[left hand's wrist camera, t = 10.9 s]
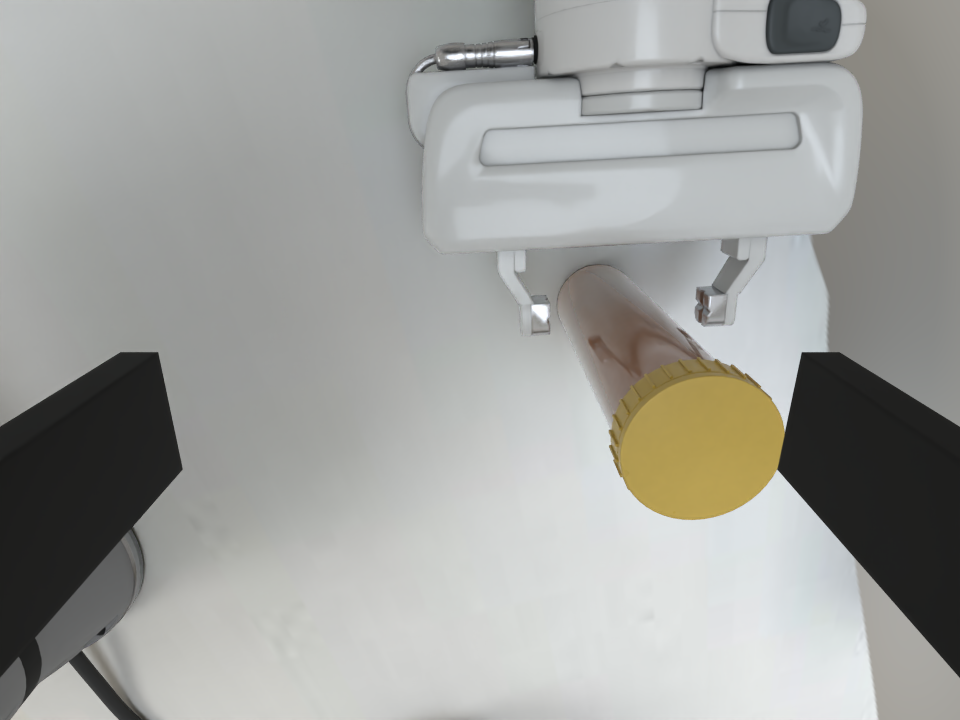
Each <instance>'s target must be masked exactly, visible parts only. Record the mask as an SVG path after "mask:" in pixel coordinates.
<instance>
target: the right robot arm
mask: <svg viewBox="0 0 960 720" xmlns="http://www.w3.org/2000/svg"><path fill="white" fill-rule="evenodd" d="M866 19H867V13H866V8H865V6H864V4H863V3H862V2H861V1H860V0H535V35H534V38H520V39H509V40H498V41H494V42H488V43H482V44H476V45H474V44H467V45H465V44H464V43H448V44H443V45H440V46H437V47H436V54H433V55H429V56H427V57H425V58H424V59H422V60H421V61H420V62H418V63H417V64H416V66H415V67H414V68H413V70H412V71H411V73H410V75H409V78H408V81H407V85H406V101H407V112H408V123H409V127H410V131H411V133H412V135H413V137H414V139H415V140H416V142H417V143H418V144H419V145H420V146H421V147H422V148H423V149H424V154H423V169H422V225H423V235H424V237H425V239H426V240H427V241H428V242H429V243H430V244H431V245H432V246H433V247H434V248H435V249H436V250H437V251H438V252H439V253H441V254H463V253H481V252H497V267H498V273H499V275H500V277H501V278H502V280H503V281H504V283H505V285H506V286H507V288H508V289H509V291H510V292H511V294H512V295H513V297H514V298H515V300H516V301H517V303H518V305H519V314H520V329H521V334H522V336H532V335H547V334H550V323H549V321H548V319H549V317H550V303H549V301H548V300H547V296H546V295H536V296H531V294H530V293H529V291H528V290H527V288H526V286H525V285H524V283H523V281H522V280H521V278H520V277H519V275H518V273H517V272H525V271H526V250H536V249H554V248H573V247H591V246H609V245H628V244H646V243H664V242H683V241H701V240H719V239H722V240H721V251H722V253H725V254H727V255H729V258H728V260H727V261H726V263H725V264H724V266H723V268H722V269H721V271H720V273H719V274H718V276H717V277H716V279H715V281H714V282H713V284H712V286H705V287H697V290H696V300H697V302H698V304H697V305H696V307H695V318H696V320H697V321H698V322H699V323H701V325H702V326H704V327H705V326H726V325H732V324H733V323H734V321H735V313H736V304H737V295H738V293H741V291H742V290H743V289H744V287H745V286H746V285H747V283H748V282H749V281H750V279H751V278H752V276H753V275H754V274H755V272H756V271H757V270H758V268H759V267H760V266H761V264H762V263H763V261H764V260H765V253H766V245H767V237H774V236H793V235H811V234H826V233H829V232H831V231H832V230H833V229H834V228H835V227H836V226H837V225H838V224H839V223H840V222H841V220H842V219H843V218H844V217H845V216H846V215H847V213H848V212H849V211H850V209H851V206H852V203H853V199H854V194H855V189H856V182H857V176H858V169H859V160H860V151H861V139H862V122H863V101H862V94H861V90H860V87H859V84H858V82H857V80H856V78H855V77H854V75H853V74H852V73H851V72H850V71H849V70H848V69H846V68H845V67H843V66H841V65H839V64H836V63H831V62H830V61H835V60H839V59H843V58H846V57H849V56H851V55H852V54H854V53H855V52H856V51H857V50H858V48H859V47H860V45H861V42H862V40H863V36H864V32H865V27H866V25H865V24H866ZM533 63H534V64H536V78H537V79H535V66H533ZM434 64H437V69H438V70H443V71H438V72H423V71H424V70H425V69H426V68H428V67H429V66H431V65H434ZM475 67H477V68H481V67H483V68H487V67H489V69H472V70H466V68H475ZM494 67H495V68H494Z"/></svg>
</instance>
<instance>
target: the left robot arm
mask: <svg viewBox="0 0 960 720" xmlns="http://www.w3.org/2000/svg"><path fill="white" fill-rule="evenodd" d="M182 470H183V468H182V464H181V459H180V454H179V449H178V445H177V440H176V435H175V430H174V426H173V421H172V416H171V411H170V407H169V402H168V397H167V392H166V388H165V383H164V378H163V373H162V369H161V364H160V359H159V354H158V352H120V353H119V354H117V355H115V356H114V357H112V358H111V359H109V360H107V361H106V362H104V363H103V364H101V365H99V366H98V367H96V368H94V369H93V370H91V371H90V372H88V373H86V374H85V375H83V376H82V377H80V378H78V379H77V380H75V381H73V382H72V383H70V384H69V385H67V386H65V387H64V388H62V389H61V390H59V391H57V392H56V393H54V394H52V395H51V396H49V397H48V398H46V399H44V400H43V401H41V402H40V403H38V404H36V405H35V406H33V407H31V408H30V409H28V410H27V411H25V412H23V413H22V414H20V415H19V416H17V417H15V418H14V419H12V420H10V421H9V422H7V423H6V424H4V425H2V426H1V427H0V720H10V719H11V718H12V717H13V715H14V714H15V713H16V712H17V710H18V709H19V707H20V706H21V705H22V704H23V702H24V701H25V700H26V699H27V697H28V696H29V695H30V694H31V692H32V691H33V690H34V688H35V687H36V686H37V685H38V684H39V683H40V682H41V681H43V680H44V679H45V678H47V677H48V676H50V675H51V674H52V673H54V672H55V671H56V670H58V669H59V668H60V667H62V666H63V665H65V664H66V663H67V662H68V661H69V663H70V664H71V665H72V666H73V667H74V669H75V670H76V671H77V672H78V673H79V675H80V676H81V677H82V678H83V679H84V680H85V682H86V683H87V684H88V685H89V686H90V687H91V689H92V690H93V691H94V692H95V693H96V695H97V696H98V697H99V698H100V699H101V701H102V702H103V703H104V704H105V705H106V706H107V707H108V709H109V710H110V711H111V712H112V713H113V714H114V715H115V716H116V717H117V718H118V719H119V720H142V719H141V718H139V717H138V716H137V715H136V714H135V713H134V712H133V711H132V710H131V709H130V708H129V707H128V706H127V705H126V704H125V703H124V702H123V701H122V700H121V698H120V697H119V696H118V695H117V694H116V692H115V691H114V690H113V689H112V687H111V686H110V685H109V684H108V682H107V681H106V680H105V679H104V678H103V676H102V675H101V674H100V673H99V672H98V670H97V669H96V668H95V667H94V665H93V664H92V663H91V662H90V660H89V659H88V658H87V657H86V656H85V654H84V653H83V652H82V651H81V650H82V649H84V648H86V647H88V646H90V645H91V644H93V643H95V642H96V641H98V640H99V639H101V638H102V637H103V636H104V635H106V634H107V633H108V632H109V631H110V630H111V629H112V628H113V627H114V626H115V625H116V624H117V623H118V622H119V621H120V620H121V619H122V617H123V616H124V615H125V613H126V612H127V611H128V609H129V608H130V607H131V605H132V604H133V602H134V601H135V599H136V598H137V596H138V594H139V591H140V588H141V586H142V581H143V572H144V567H143V558H142V553H141V550H140V547H139V544H138V542H137V539H136V537H135V535H134V533H133V532H132V530H131V528H132V527H133V526H134V524H135V523H136V522H137V521H138V520H139V519H140V518H141V516H142V515H143V514H144V513H145V512H146V511H147V510H148V508H149V507H150V506H151V505H152V504H153V503H154V502H155V500H156V499H157V498H158V497H159V496H160V495H161V494H162V492H163V491H164V490H165V489H166V488H167V487H168V486H169V484H170V483H171V482H172V481H173V480H174V479H175V478H176V476H177V475H178V474H179V473H180V472H181V471H182ZM777 470H778V471H779V472H780V473H781V474H782V475H783V476H784V478H785V479H786V480H787V481H788V482H789V483H790V484H791V486H792V487H793V488H794V489H795V490H796V491H797V492H798V494H799V495H800V496H801V497H802V498H803V499H804V500H805V502H806V503H807V504H808V505H809V506H810V507H811V508H812V510H813V511H814V512H815V513H816V514H817V515H818V516H819V518H820V519H821V520H822V521H823V522H824V523H825V524H826V526H827V527H828V528H829V529H830V530H831V531H832V532H833V534H834V535H835V536H836V537H837V538H838V539H839V540H840V542H841V543H842V544H843V545H844V546H845V547H846V548H847V550H848V551H849V552H850V553H851V554H852V555H853V556H854V558H855V559H856V560H857V561H858V562H859V563H860V564H861V565H862V567H863V568H864V569H865V570H866V571H867V572H868V573H869V575H870V576H871V577H872V578H873V579H874V580H875V581H876V583H877V584H878V585H879V586H880V587H881V588H882V589H883V591H884V592H885V593H886V594H887V595H888V596H889V597H890V599H891V600H892V601H893V602H894V603H895V604H896V605H897V607H898V608H899V609H900V610H901V611H902V612H903V613H904V615H905V616H906V617H907V618H908V619H909V620H910V621H911V623H912V624H913V625H914V626H915V627H916V628H917V629H918V631H919V632H920V633H921V634H922V635H923V636H924V637H925V639H926V640H927V641H928V642H929V643H930V644H931V645H932V647H933V648H934V649H935V650H936V651H937V652H938V653H939V654H940V656H941V657H942V658H943V659H944V660H945V661H946V663H947V664H948V665H949V666H950V667H951V668H952V669H953V671H954V672H955V673H956V674H957V675H958V676H959V677H960V427H959V426H958V425H956V424H954V423H953V422H951V421H950V420H948V419H946V418H945V417H943V416H941V415H940V414H938V413H937V412H935V411H933V410H932V409H930V408H929V407H927V406H925V405H924V404H922V403H920V402H919V401H917V400H916V399H914V398H912V397H911V396H909V395H908V394H906V393H904V392H903V391H901V390H899V389H898V388H896V387H895V386H893V385H891V384H890V383H888V382H886V381H885V380H883V379H882V378H880V377H878V376H877V375H875V374H874V373H872V372H870V371H869V370H867V369H866V368H864V367H862V366H861V365H859V364H857V363H856V362H854V361H853V360H851V359H849V358H848V357H846V356H845V355H843V354H841V353H840V352H802V354H801V359H800V364H799V369H798V373H797V378H796V383H795V388H794V392H793V397H792V402H791V407H790V411H789V416H788V421H787V426H786V430H785V435H784V440H783V445H782V449H781V454H780V459H779V464H778V468H777Z"/></svg>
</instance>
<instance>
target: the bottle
mask: <svg viewBox="0 0 960 720" xmlns="http://www.w3.org/2000/svg"><path fill="white" fill-rule="evenodd" d="M557 311H558V316H559V319H560V321H561V323H562V325H563V327H564V330H565V332H566V334H567V336H568V338H569V340H570V343H571V345H572V347H573V349H574V351H575V354H576V356H577V358H578V360H579V362H580V364H581V367H582V369H583V371H584V373H585V375H586V377H587V380H588V382H589V384H590V386H591V388H592V391H593V393H594V395H595V397H596V399H597V401H598V404H599V406H600V408H601V410H602V412H603V414H604V417H605V419H606V421H607V423H608V425H609V428H610V430H611V427H612V422H613V418H612V415H613V414H615V413H616V410H617V408H618V406H619V404H620V402H619V400H620V399H623V398H624V396H625V395H626V394H627V392H628V391H629V390H630V389H631V388H630V386H631V385H633V386H634V385H635V384H636V383H637V382H638V381H639V380H641V379H642V378H643V377H644V374H646V373H647V374H649V373H651V372H652V371H654V370H656V369H658V368H660V367H661V366H660V365H662V364H663V365H664V366H665V365H668V364H671V363H674V362H678V359H682V360H683V361H684V360H694V359H697V357H700V358H701V359H702V360H711V361H714V360H715V359H714V358H713V357H712V356H711V355H710V354H709V353H708V352H707V351H706V350H705V349H704V348H703V347H702V346H701V345H700V344H698V343H697V342H696V341H695V340H694V339H693V338H692V337H691V336H690V335H689V334H688V333H687V332H686V331H685V330H684V329H683V328H682V327H680V326H679V325H678V324H677V323H676V322H675V321H674V320H673V319H672V318H671V317H670V316H669V315H668V314H667V313H666V312H665V311H663V310H662V309H661V308H660V307H659V306H658V305H657V304H656V303H655V302H654V301H653V300H652V299H651V298H650V297H649V296H648V295H646V294H645V293H644V292H643V291H642V290H641V289H640V288H639V287H638V286H637V285H636V284H635V283H634V282H633V281H632V280H631V279H629V278H628V277H627V276H626V275H625V274H624V273H623V272H622V271H620V270H619V269H617V268H614V267H612V266H608V265H591V266H587V267H584V268H582V269H580V270H578V271H576V272H575V273H573V274H572V275H571V276H570V277H569V278H568V279H567V280H566V281H565V283H564V284H563V286H562V288H561V290H560V292H559V295H558V300H557Z"/></svg>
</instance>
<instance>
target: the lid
mask: <svg viewBox="0 0 960 720" xmlns="http://www.w3.org/2000/svg"><path fill="white" fill-rule="evenodd" d="M660 366H661V367H660V368H658V369H656V370H654V371H652V372H651V373H649V374H647V373H646V374H644V377H643V378H642V379H641V380H639V381H638V382H637V383H636V384H635V385H634V386H633V385H631V386H630V388H631V389H630V390H629V391H628V392H627V394H626V395H625V396H624V398H623V399H620V400H619V402H620V404H619V406H618V408H617V410H616V413H615V414H613V415H612V418H613V422H612V427H611V430H609V434H610V436H611V445H609V448H610V450H611V452H612V455H613V457H614V460H613V461H614V463H615V465H616V468H617V470H618V473H619V475H620V477H623V479H624V481H625V484H626V486H627V488H628V490H630V491H631V493H632V494H633V495H634V496H635V497H636V498H637V499H638V500H639V501H640V502H641V503H642V504H643V505H645V506H646V507H648V508H649V509H651V510H653V511H654V512H657V513H659V514H661V515H664V516H668V517H671V518H676V519H684V520H697V519H706V518H712V517H716V516H719V515H723V514H725V513H728V512H730V511H733V510H735V509H737V508H739V507H740V506H742V505H744V504H745V503H747V502H748V501H750V500H751V499H752V498H754V497H755V496H756V495H757V494H758V493H759V492H760V491H761V490H762V489H763V488H764V487H765V486H766V485H767V484H768V482H769V481H770V480H771V478H772V477H773V475H774V474H775V472H776V470H777V468H778V464H779V459H780V454H781V449H782V445H783V440H784V435H785V431H784V426H783V421H782V418H781V415H780V413H779V411H778V409H777V407H776V406H775V404H774V403H773V402H772V398H771V397H770V396H769V395H768V394H767V393H765V392H764V391H763V390H762V389H761V386H760V385H759V384H758V383H757V382H755V381H754V380H753V379H752V378H751V377H750V376H749V375H748V374H746V373H745V374H743V373H742V372H741V371H740V370H739V369H737V368H736V367H735V366H734V365H731V366H729V365H727V364H723V363H721V362H720V361H719V360H718V359H715V360H714V361H711V360H702V359H701V358H700V357H697V359H694V360H684V361H683V360H682V359H678V362H674V363H671V364H668V365H665V366H664V365H663V364H662V365H660Z"/></svg>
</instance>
